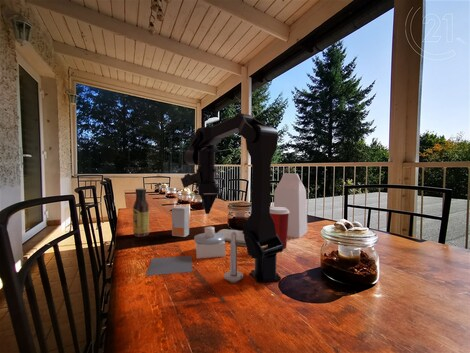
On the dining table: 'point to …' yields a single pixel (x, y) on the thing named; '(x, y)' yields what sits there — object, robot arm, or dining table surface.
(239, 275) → the screw
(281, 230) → the paper cup
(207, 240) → the lid
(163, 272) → the mat
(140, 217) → the sauce bottle
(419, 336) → the dining table surface
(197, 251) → the dish
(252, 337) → the dining table surface
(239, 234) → the washcloth
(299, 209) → the milk
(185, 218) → the skincare box
